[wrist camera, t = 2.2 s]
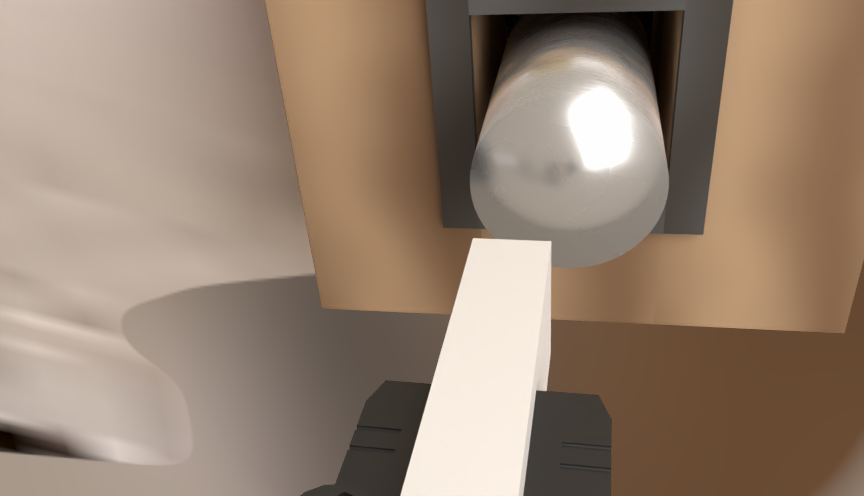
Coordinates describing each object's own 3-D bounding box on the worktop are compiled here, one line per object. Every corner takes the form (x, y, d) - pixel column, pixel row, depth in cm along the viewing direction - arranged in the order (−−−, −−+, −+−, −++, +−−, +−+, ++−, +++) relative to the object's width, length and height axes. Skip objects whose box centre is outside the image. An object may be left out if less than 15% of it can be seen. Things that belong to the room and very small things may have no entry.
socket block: (382, 181, 38) (318, 315, 29) (335, -205, 29) (226, -176, 21) (785, 188, 34) (847, 340, 26) (866, -246, 26) (999, -232, 17)
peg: (506, 125, 29) (474, 264, 21) (502, -11, 26) (464, 94, 19) (644, 125, 28) (660, 271, 20) (654, -15, 25) (677, 93, 18)
